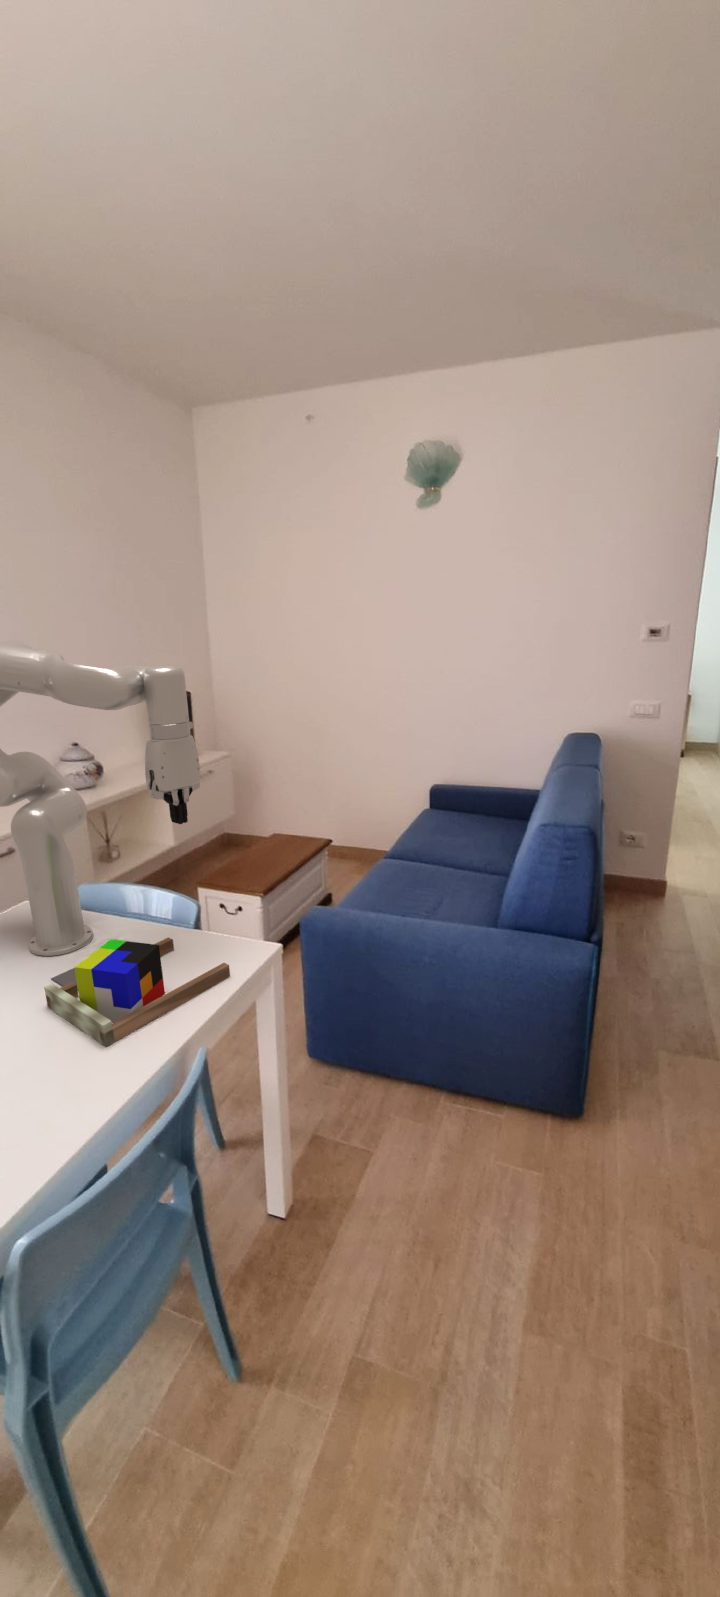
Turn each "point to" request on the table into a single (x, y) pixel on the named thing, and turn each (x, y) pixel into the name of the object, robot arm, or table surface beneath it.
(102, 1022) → the trap box
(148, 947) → the puzzle toy
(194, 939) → the table surface
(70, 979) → the grey flat block
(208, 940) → the table surface
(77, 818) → the robot arm
